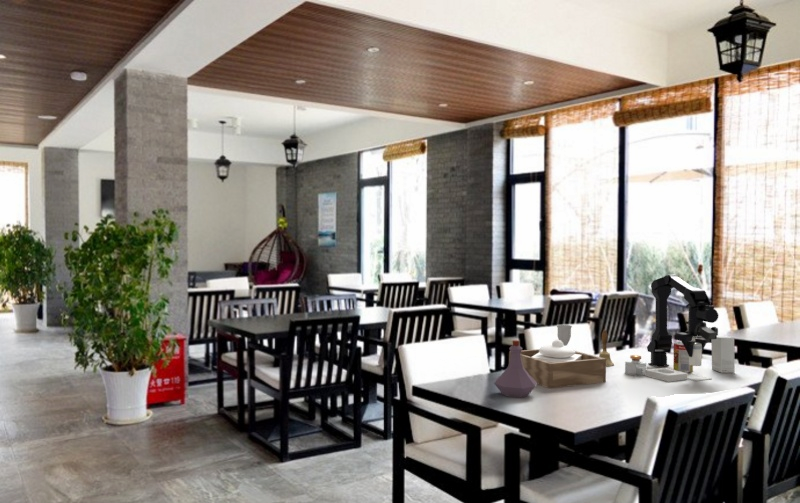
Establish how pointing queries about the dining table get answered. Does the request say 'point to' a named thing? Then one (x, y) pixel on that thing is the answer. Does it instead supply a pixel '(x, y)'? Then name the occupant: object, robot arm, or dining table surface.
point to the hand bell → (605, 350)
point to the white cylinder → (696, 355)
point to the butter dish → (557, 353)
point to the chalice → (564, 333)
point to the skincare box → (723, 354)
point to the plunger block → (635, 368)
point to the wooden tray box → (564, 370)
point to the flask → (515, 376)
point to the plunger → (635, 358)
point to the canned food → (681, 358)
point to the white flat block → (666, 374)
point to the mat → (697, 377)
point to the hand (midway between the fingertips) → (695, 356)
